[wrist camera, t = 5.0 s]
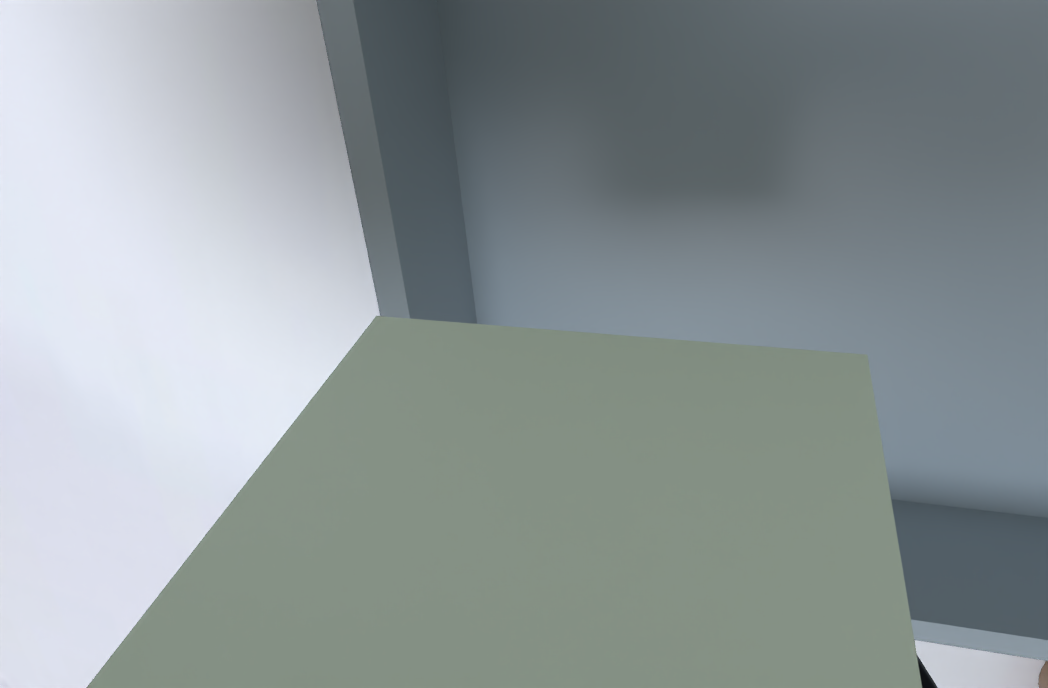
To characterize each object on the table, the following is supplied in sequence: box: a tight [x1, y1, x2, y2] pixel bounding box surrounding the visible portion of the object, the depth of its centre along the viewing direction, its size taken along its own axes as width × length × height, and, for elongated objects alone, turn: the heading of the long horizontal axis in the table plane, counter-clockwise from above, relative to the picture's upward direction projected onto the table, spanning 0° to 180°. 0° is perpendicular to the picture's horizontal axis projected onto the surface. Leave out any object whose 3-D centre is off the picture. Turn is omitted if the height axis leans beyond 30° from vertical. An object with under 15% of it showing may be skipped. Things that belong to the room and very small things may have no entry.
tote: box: [316, 0, 1048, 661], centre depth 14 cm, size 19×15×4 cm
